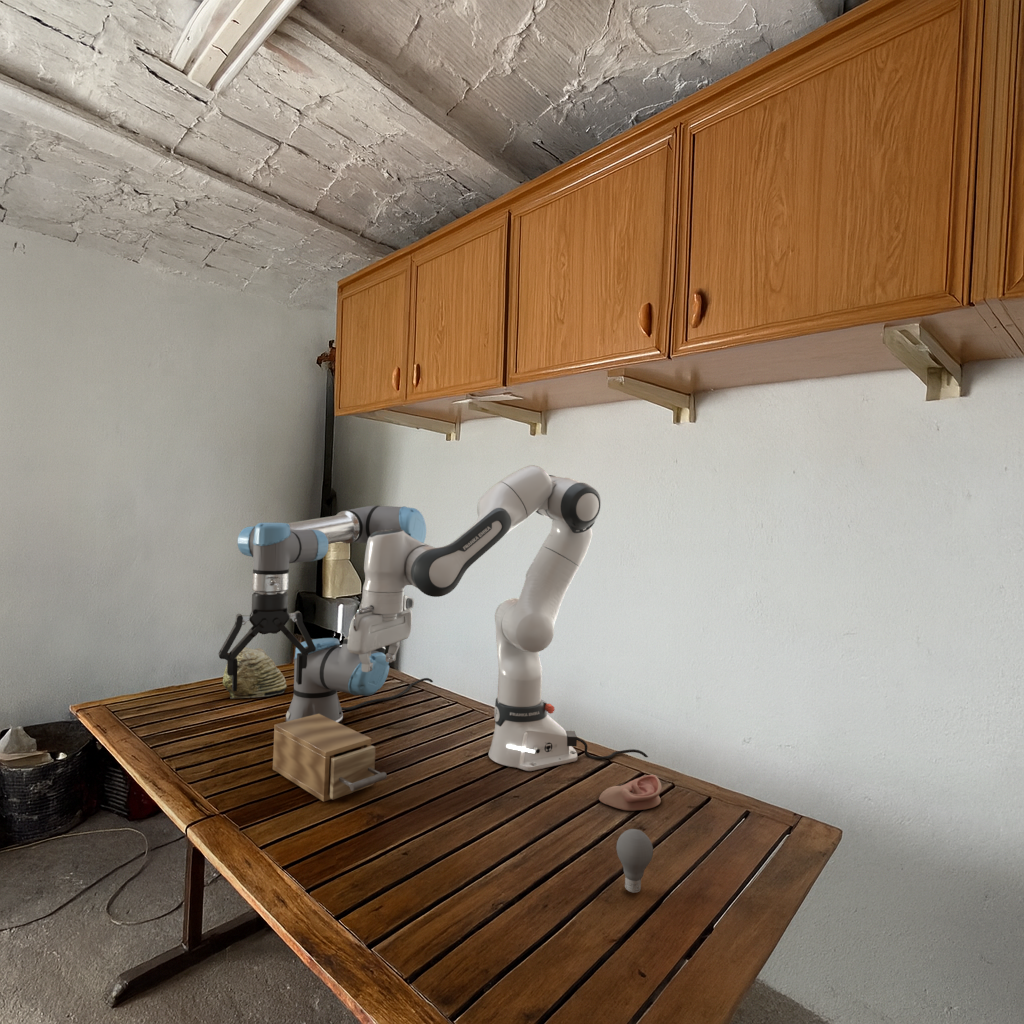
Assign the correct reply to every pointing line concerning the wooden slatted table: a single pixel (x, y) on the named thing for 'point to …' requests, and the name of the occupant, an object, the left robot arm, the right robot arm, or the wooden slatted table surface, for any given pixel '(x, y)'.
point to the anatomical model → (634, 794)
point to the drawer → (353, 771)
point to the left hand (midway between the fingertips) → (267, 686)
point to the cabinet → (312, 750)
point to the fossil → (255, 675)
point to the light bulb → (634, 857)
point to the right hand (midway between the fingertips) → (379, 666)
